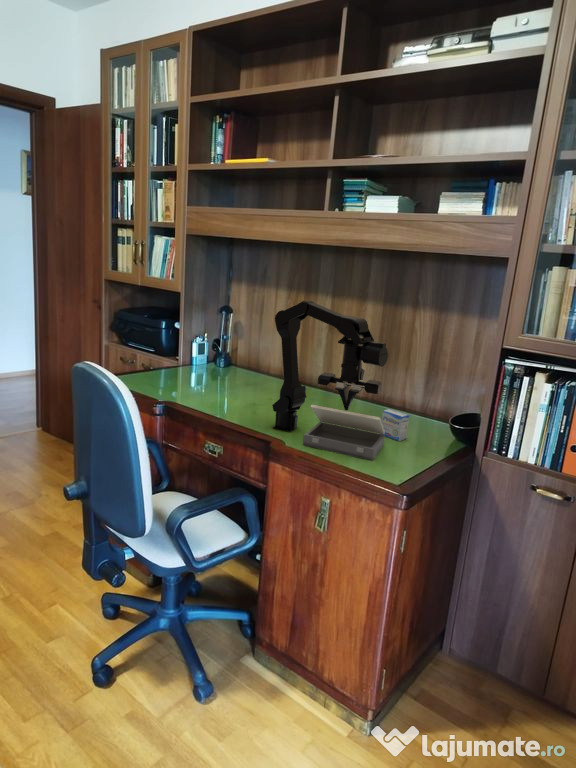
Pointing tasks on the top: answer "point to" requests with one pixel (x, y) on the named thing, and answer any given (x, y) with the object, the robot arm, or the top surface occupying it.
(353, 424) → the tray lid
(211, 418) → the top surface
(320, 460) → the top surface
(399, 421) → the medicine box
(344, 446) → the cable tray
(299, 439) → the top surface
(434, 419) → the top surface
